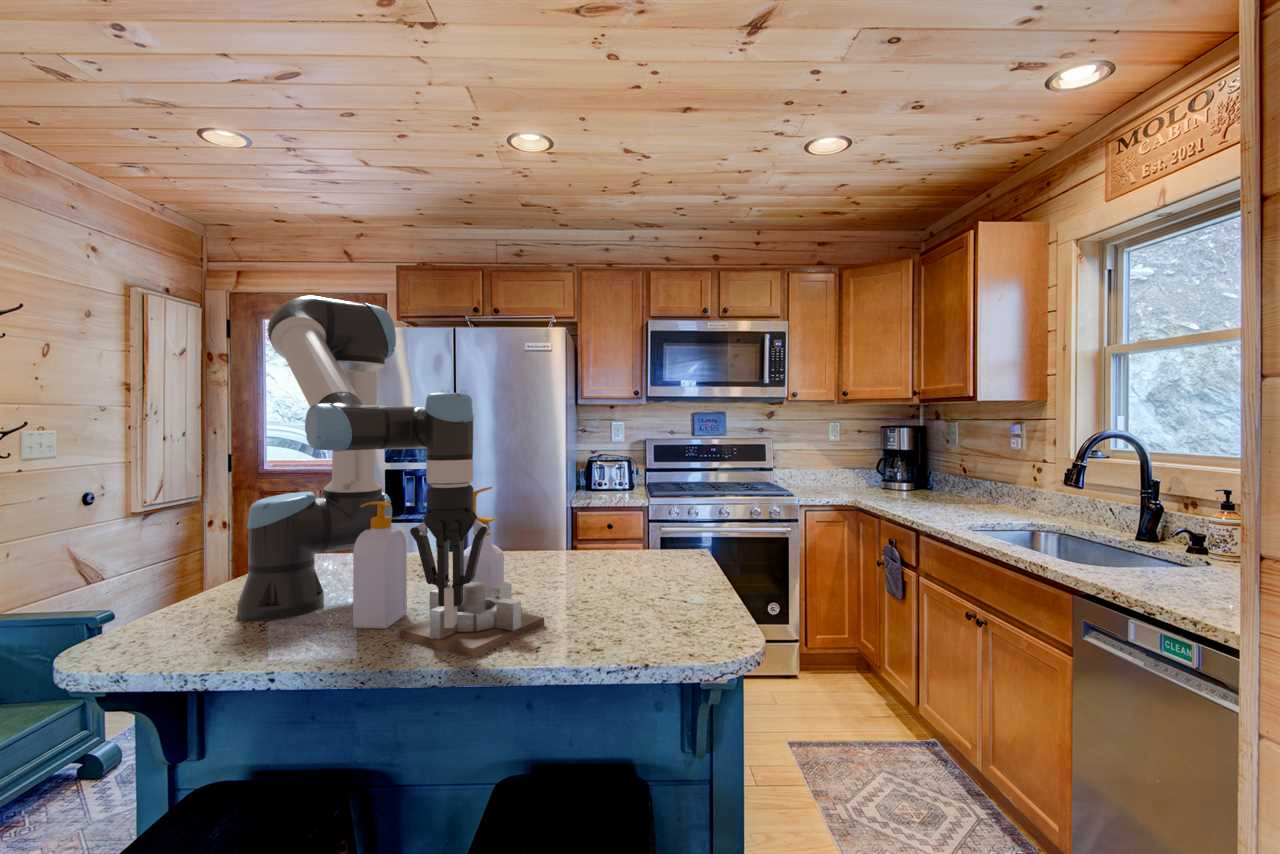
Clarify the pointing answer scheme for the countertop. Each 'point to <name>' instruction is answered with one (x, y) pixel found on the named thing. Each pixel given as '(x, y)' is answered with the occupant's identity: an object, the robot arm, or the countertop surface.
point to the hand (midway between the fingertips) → (451, 624)
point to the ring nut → (479, 613)
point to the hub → (476, 640)
